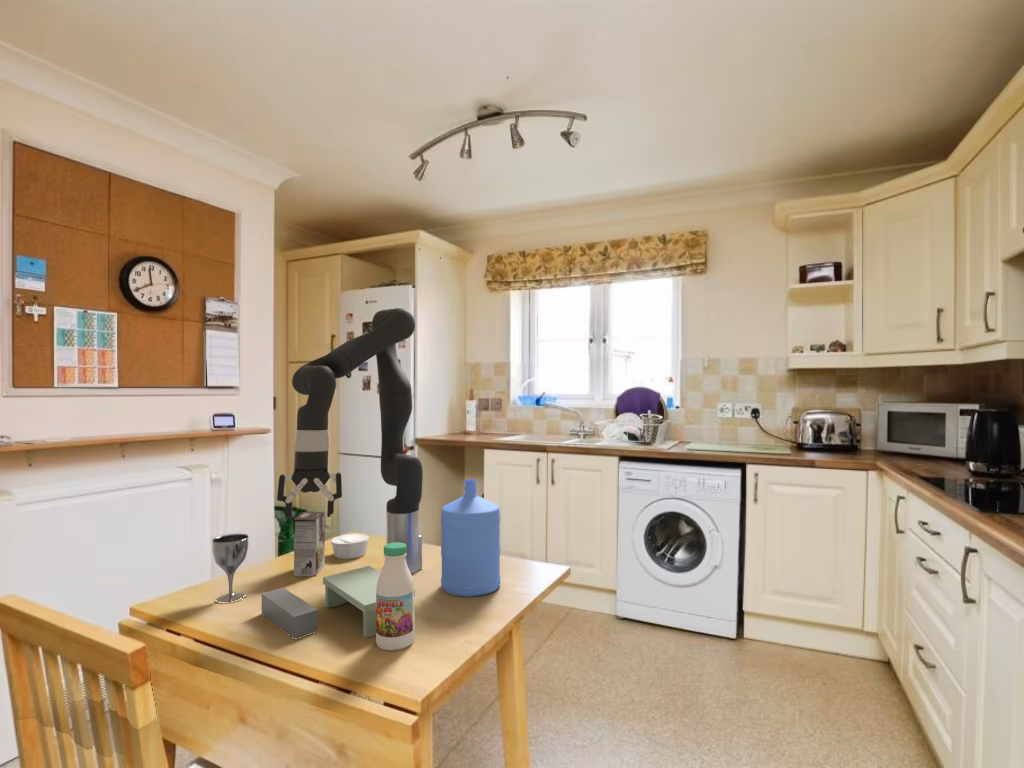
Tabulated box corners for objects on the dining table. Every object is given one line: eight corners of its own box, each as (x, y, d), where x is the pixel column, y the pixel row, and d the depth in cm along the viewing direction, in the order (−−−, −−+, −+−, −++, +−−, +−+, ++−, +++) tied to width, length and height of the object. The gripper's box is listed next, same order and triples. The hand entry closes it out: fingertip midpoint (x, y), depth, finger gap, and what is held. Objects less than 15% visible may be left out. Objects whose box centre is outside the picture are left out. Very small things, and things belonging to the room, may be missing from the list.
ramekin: (324, 559, 158) (324, 542, 158) (342, 548, 169) (342, 532, 169) (358, 561, 156) (358, 544, 156) (374, 550, 167) (374, 534, 167)
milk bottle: (379, 634, 109) (379, 540, 109) (416, 632, 110) (415, 538, 110) (372, 652, 101) (372, 551, 102) (412, 651, 102) (412, 550, 102)
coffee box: (303, 566, 152) (303, 511, 152) (325, 565, 153) (325, 510, 153) (292, 577, 143) (292, 519, 143) (316, 576, 144) (316, 518, 144)
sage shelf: (369, 593, 131) (369, 565, 131) (414, 621, 115) (414, 590, 115) (322, 606, 123) (322, 577, 123) (364, 639, 107) (364, 605, 107)
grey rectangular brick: (283, 608, 123) (283, 587, 123) (317, 632, 110) (317, 609, 111) (261, 615, 119) (261, 593, 119) (294, 641, 107) (294, 617, 107)
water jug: (508, 593, 131) (508, 483, 131) (448, 602, 126) (448, 487, 126) (490, 572, 146) (489, 474, 146) (435, 580, 140) (435, 477, 141)
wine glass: (232, 605, 124) (232, 543, 124) (204, 603, 126) (204, 541, 126) (255, 593, 132) (255, 534, 132) (228, 590, 133) (228, 532, 134)
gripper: (342, 447, 129) (340, 512, 128) (280, 448, 124) (277, 516, 123) (343, 449, 122) (341, 519, 121) (278, 450, 117) (275, 522, 116)
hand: (309, 517), depth 122 cm, fingers open, 8 cm apart
